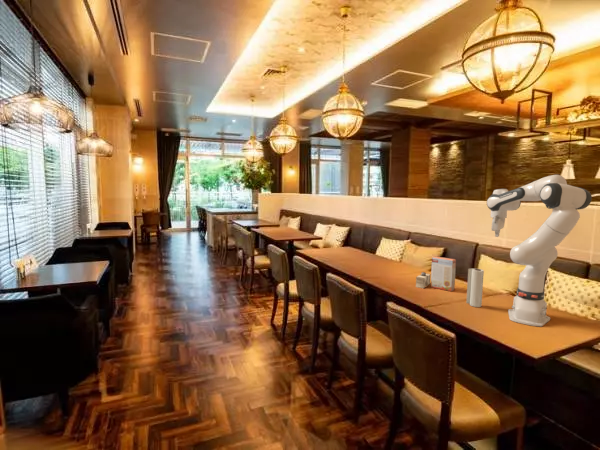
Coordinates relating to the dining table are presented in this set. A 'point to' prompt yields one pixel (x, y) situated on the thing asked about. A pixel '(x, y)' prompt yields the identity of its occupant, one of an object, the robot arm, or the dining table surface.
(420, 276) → the stop block
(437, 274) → the cracker box
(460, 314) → the dining table surface
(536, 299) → the robot arm
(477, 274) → the paper towel roll
